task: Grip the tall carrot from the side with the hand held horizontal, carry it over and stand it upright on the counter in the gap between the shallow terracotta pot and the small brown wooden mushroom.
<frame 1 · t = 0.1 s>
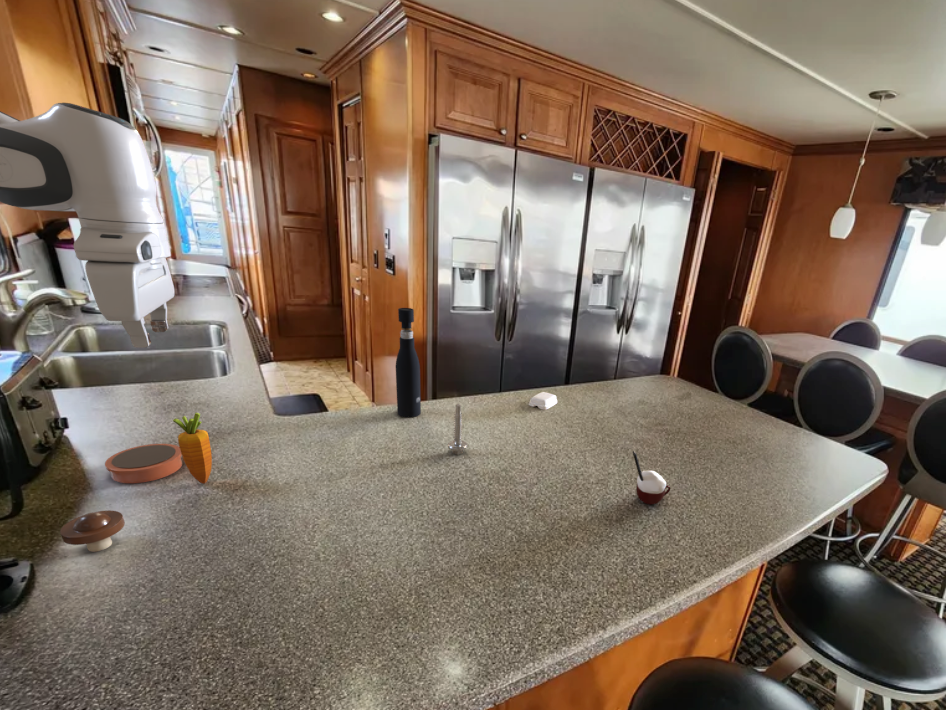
hand: (152, 338, 70), 32 cm above the kitchen counter, tool pointing down, fingers open, 8 cm apart
carrot: (204, 484, 91), on the kitchen counter
cocoa: (646, 500, 101), on the kitchen counter
soap: (543, 404, 150), on the kitchen counter
mushroom: (100, 546, 73), on the kitchen counter
pot: (148, 469, 94), on the kitchen counter
screw: (457, 453, 113), on the kitchen counter
black water bottle: (409, 413, 132), on the kitchen counter
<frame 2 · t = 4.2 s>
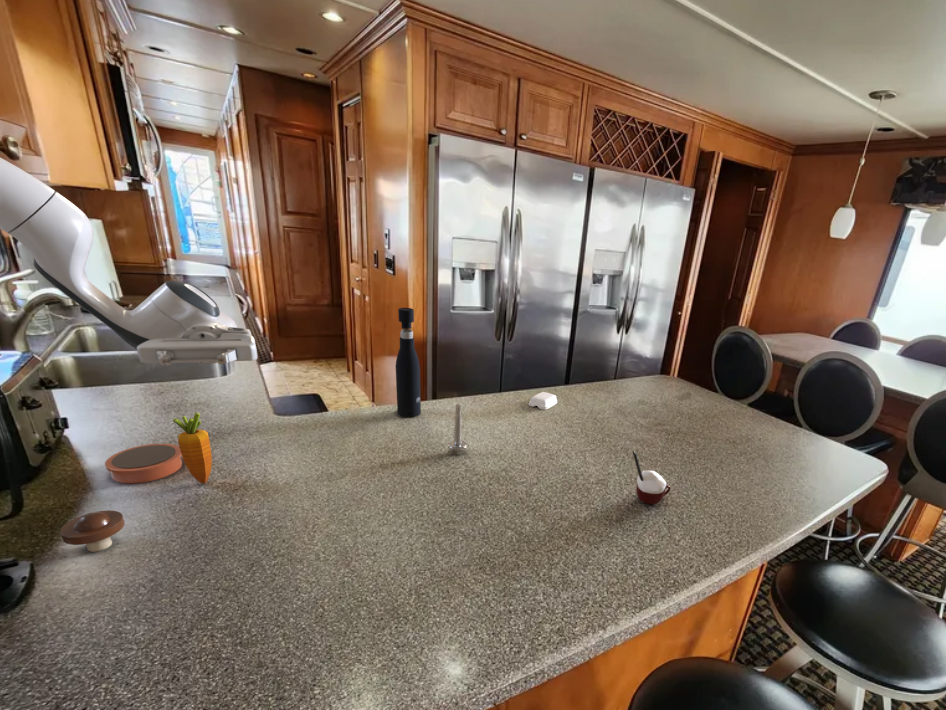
hand: (193, 361, 92), 22 cm above the kitchen counter, tool horizontal, fingers open, 8 cm apart
nothing on the kitchen counter moved.
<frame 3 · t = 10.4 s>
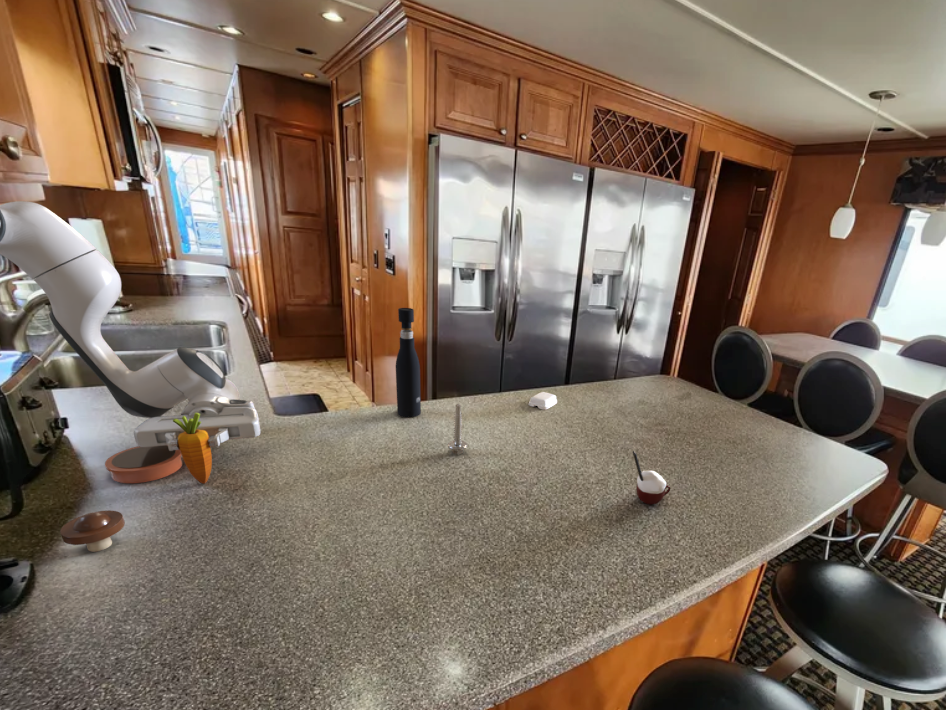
hand: (193, 445, 87), 9 cm above the kitchen counter, tool horizontal, fingers closed on carrot, 5 cm apart
carrot: (204, 484, 91), on the kitchen counter, touching gripper
everything else where it was.
when the fingers open (9 cm above the kitchen counter, at t = 18.9 s): carrot stays where it is, on the kitchen counter.
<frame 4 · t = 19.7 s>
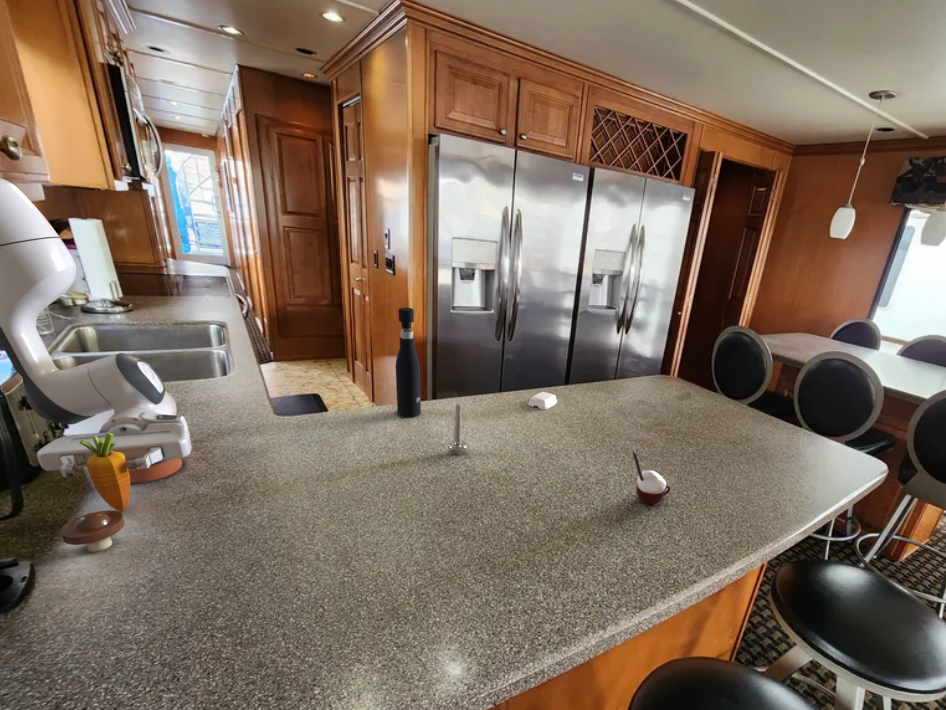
hand: (105, 468, 77), 9 cm above the kitchen counter, tool horizontal, fingers open, 8 cm apart
carrot: (122, 512, 81), on the kitchen counter
everything else where it was.
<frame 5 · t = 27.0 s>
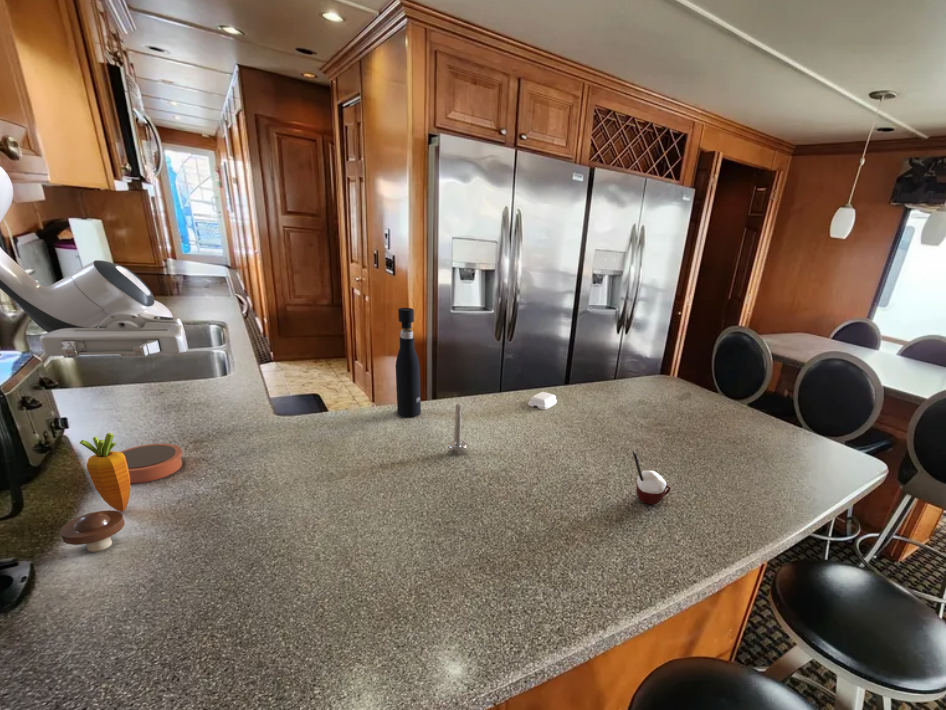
hand: (104, 352, 80), 26 cm above the kitchen counter, tool horizontal, fingers open, 8 cm apart
nothing on the kitchen counter moved.
at the end: carrot 0.2 cm from the target spot on the kitchen counter beside the pot, on the kitchen counter; carrot 10.0 cm from the mushroom (horizontally); carrot tilted 0° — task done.
